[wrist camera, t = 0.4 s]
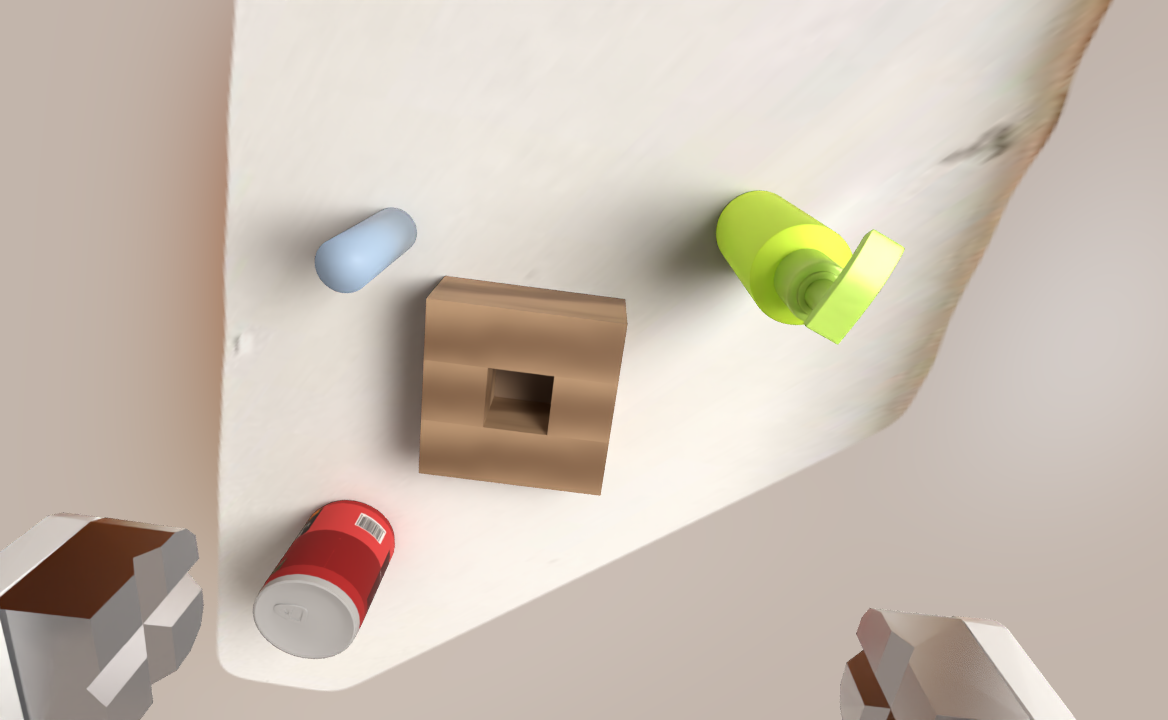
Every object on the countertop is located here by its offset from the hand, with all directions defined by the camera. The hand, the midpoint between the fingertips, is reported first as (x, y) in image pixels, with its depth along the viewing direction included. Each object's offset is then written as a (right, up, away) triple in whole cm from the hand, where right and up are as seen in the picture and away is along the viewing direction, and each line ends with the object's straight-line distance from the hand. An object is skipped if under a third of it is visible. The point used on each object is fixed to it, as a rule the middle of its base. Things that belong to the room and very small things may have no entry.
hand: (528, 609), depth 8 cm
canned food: (-20, -13, +54) cm, 59 cm away
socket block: (-4, +2, +48) cm, 48 cm away
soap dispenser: (+14, +13, +43) cm, 47 cm away
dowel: (-14, +13, +44) cm, 48 cm away
